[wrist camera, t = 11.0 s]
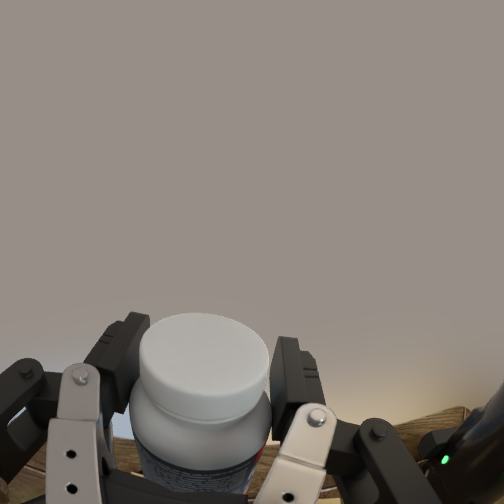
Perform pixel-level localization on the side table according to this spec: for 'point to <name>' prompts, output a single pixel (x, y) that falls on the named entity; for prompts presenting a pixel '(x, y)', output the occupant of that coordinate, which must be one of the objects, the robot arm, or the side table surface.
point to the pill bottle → (201, 403)
